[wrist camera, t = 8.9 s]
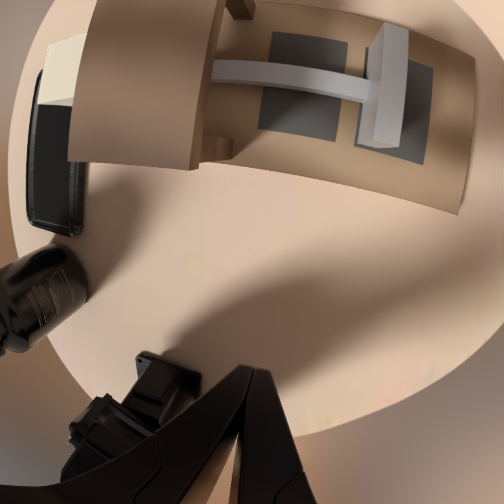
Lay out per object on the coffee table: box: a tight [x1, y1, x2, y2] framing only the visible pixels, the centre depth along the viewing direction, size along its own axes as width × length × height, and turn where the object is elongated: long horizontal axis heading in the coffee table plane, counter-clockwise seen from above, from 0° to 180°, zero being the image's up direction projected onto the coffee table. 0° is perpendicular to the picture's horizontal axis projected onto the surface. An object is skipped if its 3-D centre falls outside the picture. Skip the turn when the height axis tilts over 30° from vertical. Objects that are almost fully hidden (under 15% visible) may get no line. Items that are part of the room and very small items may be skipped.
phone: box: [26, 69, 85, 237], centre depth 19 cm, size 8×1×15 cm
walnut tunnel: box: [67, 0, 256, 170], centre depth 12 cm, size 11×6×7 cm, turn 172°
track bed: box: [203, 2, 475, 215], centre depth 15 cm, size 11×26×1 cm, turn 82°
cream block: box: [37, 32, 87, 106], centre depth 13 cm, size 4×4×4 cm
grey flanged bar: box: [211, 22, 409, 148], centre depth 13 cm, size 7×20×4 cm, turn 82°
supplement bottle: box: [0, 243, 87, 358], centre depth 18 cm, size 7×7×12 cm
